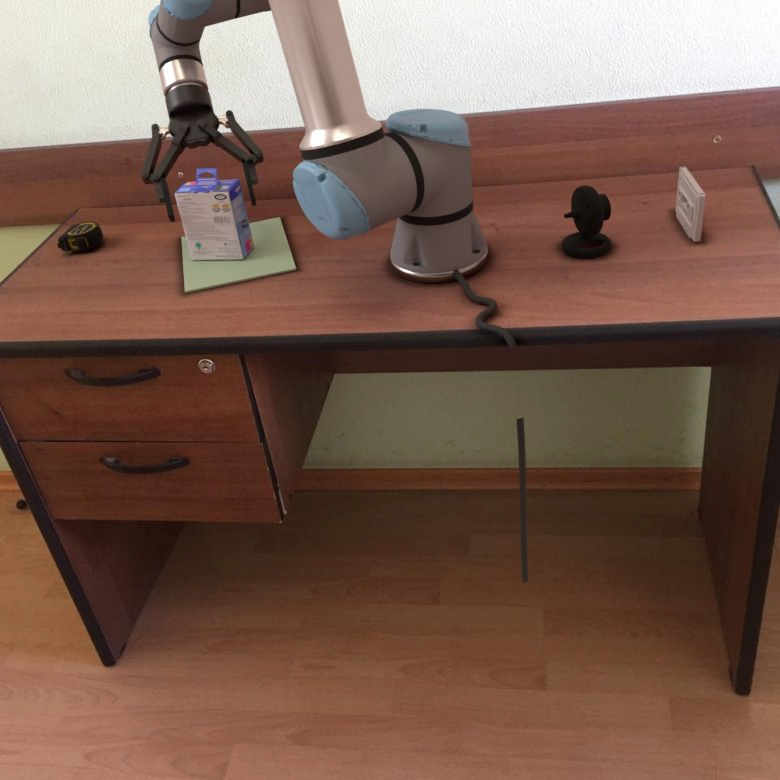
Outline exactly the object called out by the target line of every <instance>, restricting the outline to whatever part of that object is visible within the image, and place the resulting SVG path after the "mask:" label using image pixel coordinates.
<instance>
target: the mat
mask: <svg viewBox="0 0 780 780" xmlns="http://www.w3.org/2000/svg"><path fill="white" fill-rule="evenodd" d="M249 225H250V230H251V234H252V238H253V243H254V248H253V249H252V250H251V251H250V252H249V254H248V255H247V256H246V257H245V258H244V259H242V260H191V256H190V252H189V248H188V244H187V240H186V236H185V235H183V236H181V254H182V268H183V269H182V270H183V285H184V286H183V287H184V294H189V293H194V292H199V291H200V292H201V291H205V290H208V289H214V288H219V287H224V286H228V285H233V284H239V283H243V282H248V281H252V280H253V281H254V280H256V279H257V280H258V279H262V278H267V277H271V276H276V275H281V274H286V273H290V272H295V271H297V266H296V263H295V260H294V258H293V253H292V251H291V247H290V245H289V241H288V239H287V236H286V232H285V229H284V226H283V222H282V219H281V216H279V217H273V218H268V219H264V220H263V219H262V220H259V221H254V222H249Z"/></svg>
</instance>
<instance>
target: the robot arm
mask: <svg viewBox="0 0 780 780" xmlns="http://www.w3.org/2000/svg"><path fill="white" fill-rule="evenodd" d="M264 12H265V13H266V12H271V14H272V18H273V22H274V25H275V29H276V32H277V36H278V39H279V42H280V46H281V49H282V53H283V56H284V60H285V64H286V67H287V70H288V74H289V76H290V81H291V84H292V88H293V90H294V94H295V97H296V101H297V104H298V105H297V106H298V109H299V111H300V115H301V118H302V123H303V126H304V129H305V132H304V136H303V138H302V140H301V142H300V144H299V146H298V148H299V151H300V152H299V153H300V155H301V159H302V161H301V162H300V163H298V165H297V166H296V167H294V170H293V172H292V173H293V174H292V178H293V180H292V185H293V186H292V187H293V191H294V194H295V197H296V201H297V202H298V204H299V206H300V208H301V210H302V212H303V214H304V215H305V217H306V218H307V219H308V221H309V222H310V223H311V224H312V225H313V226H314V227H315V228H316V230H317V231H319V233H321V234H322V235H324V236H326V237H327V238H329V239H330V240H335V241H345V240H349V239H351V238H354V237H357V236H364V235H366V234H367V233H369V232H370V231H372V230H374V229H376V228H379V227H380V226H384V225H385V224H387V223H390V222H393V221H394V220H396V223H395V228H394V233H393V238H392V243H391V248H390V254H389V256H390V258H389V259H390V265H391V269H392V271H393V272H394V273H395V274H396V275H397V276H399V277H400V278H402V279H404V280H408V281H411V282H415V283H423V284H439V283H446V282H447V283H448V282H453V281H457V282H458V283H459V285H460V286H461V287H462V289H463V292H464V293H465V295H466V296H467V298H469V299H470V300H471V301H472V302H474V303H476V304H481V305H486V306H489V307H487V308H485V309H484V310H482V311H481V312H479V313H478V314H477V315H476V317H475V318H474V321H475V325H476V326H477V328H479V329H480V330H482V331H486V332H491V333H495V334H497V335H498V336H501V337H502V338H503V339H504V340H505V342H506V344H507V345H508V348H510V349H516V348H517V347H518V346H517V343H516V340H515V339H514V337H513V336H512V334H511V333H510V332H509V331H508V330H507V329H505V328H504V327H502V326H499V325H496V324H493V323H487V322H485V321H483V320H485V319H487V318H488V317H489V316H491V315H493V314H494V313H495V312H496V311H497V309H498V303H497V301H496V300H494V298H491V297H486V296H482V295H478V294H476V293H475V292H474V291H473V290H472V288H471V286H470V285H469V282H468V281H467V280H466V278H467V277H469V276H471V275H473V274H476V273H477V272H479V271H480V270H481V269H482V268H484V267H485V265H486V264H487V262H488V260H489V250H488V249H489V247H488V243H487V240H486V238H485V235H484V232H483V230H482V228H481V226H480V222H479V220H478V218H477V215H476V214H475V209H474V195H473V194H474V192H473V177H472V175H473V174H472V154H471V152H472V151H471V147H472V143H471V141H470V134H469V125H468V123H467V120H466V119H465V118H464V117H463V116H462V115H461V114H459V113H457V112H454V111H450V110H445V109H437V108H436V109H435V108H414V109H404V110H399V111H396V112H393V113H391V114H390V115H389V116H388V117H387V118H386V122H385V123H386V124H385V129H386V132H384V128H383V125H382V122H380V121H379V120H377V119H375V118H373V117H372V116H371V115H370V114H369V113H368V111H367V107H366V104H365V103H366V102H365V99H364V95H363V91H362V87H361V83H360V80H359V77H358V71H357V68H356V64H355V60H354V57H353V56H354V55H353V53H352V49H351V44H350V41H349V37H348V33H347V29H346V25H345V21H344V17H343V13H342V10H341V6H340V2H339V0H160V2H159V4H158V5H156V6H155V7H154V9H153V10H151V11H150V12H149V14H148V27H149V31H148V33H149V38H150V40H151V42H152V47H153V51H154V56H155V60H156V63H157V64H156V65H157V69H158V73H159V75H158V76H159V80H160V84H161V89H162V94H163V96H164V102H165V106H166V111H167V115H168V120H169V122H168V125H159V124H157V123H153V124H151V126H150V128H151V129H150V130H151V138H150V142H149V146H148V149H147V152H146V154H145V155H146V156H145V158H144V162H143V165H142V169H141V172H140V177H141V180H142V182H143V183H144V185H153V186H154V189H155V195H156V198H157V201H158V202H159V203H160V204H162V203H165V208H166V213H167V216H168V219H169V221H170V223H173V222H174V223H175V222H176V218H175V212H174V208H173V202H172V199H171V193H170V189H169V186H168V183H167V181H166V178H167V177H168V175H169V174H170V172H171V170H172V169H173V167H174V165H175V163H176V162H177V161H178V159H179V157H180V156H181V155H182V154H183V152H184V151H185V150H186V148H187V149H189V150H194V149H196V148H199V147H203V148H204V147H209V145H210V144H213V145H215V147H217V148H220V149H221V150H223V151H224V152H225V153H227V154H228V155H230V156H231V157H233V158H234V159H235V160H237V161H238V162H240V163H241V164H242V168H243V173H244V177H245V182H246V187H247V191H248V196H249V198H250V205H251V207H255V206H257V200H256V196H255V192H254V187H253V186H256V185H258V184H259V179H258V174H257V169H256V166H257V165H258V164H262V163H264V161H265V159H264V152H263V150H262V149H261V148H260V147H259V145H258V144H257V143H256V142H255V141H254V140H253V139H252V138H251V136H249V134H248V133H247V132H246V131H245V129H244V128H243V127H242V126H241V125H240V124H239V122H237V119H236V117H235V114H234V112H233V111H232V110H231V109H228V110H226V111H225V114H222V115H218V116H217V115H216V114H215V111H214V106H213V102H212V98H211V97H212V96H211V93H210V91H209V84H208V81H207V76H206V72H205V68H204V63H203V59H202V54H201V50H200V43H201V40H202V37H203V33H204V31H205V28H206V27H210V26H213V25H217V24H221V23H225V22H229V21H232V20H235V19H236V20H237V19H240V18H245V17H248V16H252V15H257V14H260V13H264ZM220 125H222V126H224V128H226V129H229V130H230V131H231V133H232V134H233V136H234V137H235V138H236V139H237V140H238V141H239V143H240V144H241V145H242V146H243V147H244V148H245V150H246V151H247V152H246V151H245V150H244V149H243V148H241V147H239V146H238V145H237V144H236V143H234V142H233V141H231V140H230V139H229V138H228V137H226V136H225V135H223V134H222V133H221V132H220V131H219V128H220ZM168 135H170V136H171V137H172V138H173V139H172V140H171V144H170V146H169V147H168V149H167V151H166V152H165V154H164V156H163V157H162V158H161V160H160V162H159V163H158V160H159V157H160V153H161V150H162V146H163V141H165V140H166V138H167V136H168ZM157 163H158V165H157ZM516 430H517V431H516V433H517V450H518V451H517V452H518V477H519V479H518V480H519V482H518V485H519V522H520V523H519V525H520V527H519V528H520V531H519V532H520V558H521V559H520V563H521V564H520V565H521V581H522V582H523V583H529V566H528V565H529V560H528V559H529V557H528V556H529V555H528V503H527V501H528V500H527V499H528V498H527V495H528V494H527V462H526V461H527V458H526V457H527V454H526V433H525V418H524V417H520V418H516Z"/></svg>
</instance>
